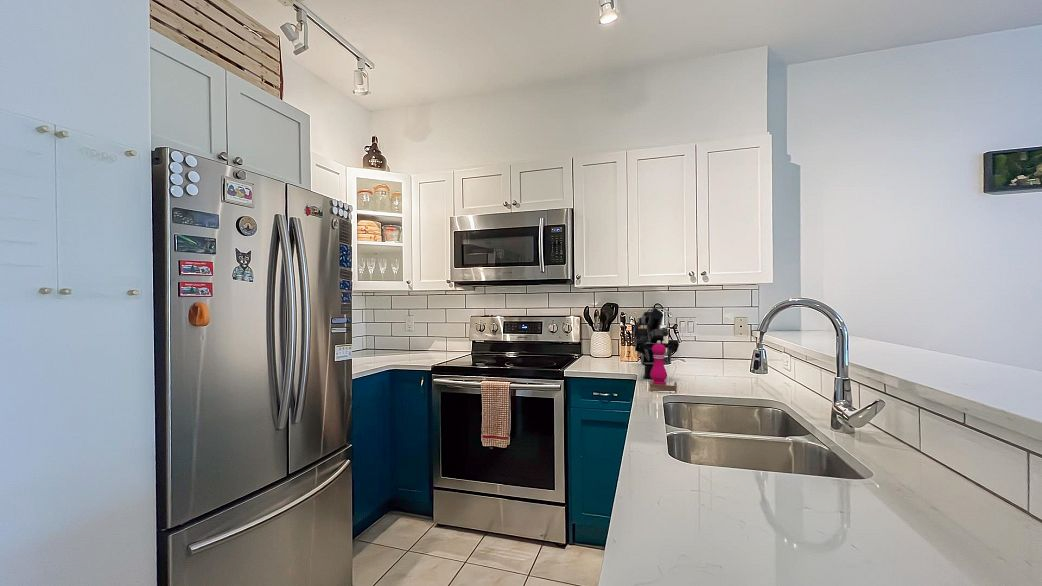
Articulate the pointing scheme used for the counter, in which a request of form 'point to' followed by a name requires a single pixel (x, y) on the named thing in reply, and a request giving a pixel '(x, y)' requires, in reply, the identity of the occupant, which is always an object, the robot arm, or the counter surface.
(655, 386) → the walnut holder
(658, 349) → the pepper mill
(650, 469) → the counter surface
